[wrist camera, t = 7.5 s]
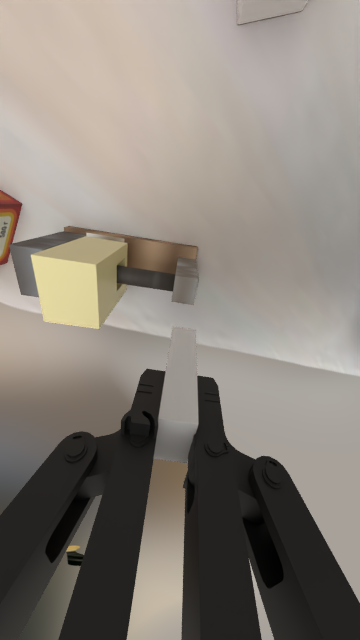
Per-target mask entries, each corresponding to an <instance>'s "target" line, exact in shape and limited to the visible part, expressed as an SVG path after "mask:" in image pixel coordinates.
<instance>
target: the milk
mask: <svg viewBox="0 0 360 640" xmlns="http://www.w3.org/2000/svg"><path fill="white" fill-rule="evenodd" d="M307 2H308V0H237V24H238V25H239V24H244V23H249V22H253V21H258V20H262V19H267V18H272V17H276V16H281V15H286V14H290V13H295V12H299V11H302V10H303V8H304V7H305V5H306V3H307Z"/></svg>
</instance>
